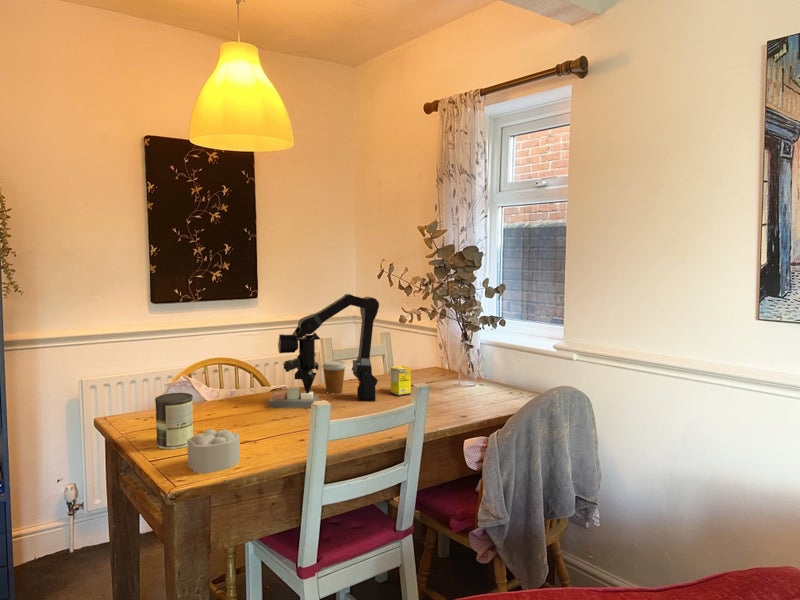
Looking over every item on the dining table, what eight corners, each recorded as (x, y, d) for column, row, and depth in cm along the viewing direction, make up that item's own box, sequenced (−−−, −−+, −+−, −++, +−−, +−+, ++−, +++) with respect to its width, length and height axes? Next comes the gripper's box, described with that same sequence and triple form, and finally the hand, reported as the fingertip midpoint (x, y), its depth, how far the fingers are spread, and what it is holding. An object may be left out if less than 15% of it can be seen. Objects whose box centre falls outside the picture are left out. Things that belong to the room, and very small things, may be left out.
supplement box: (411, 394, 227) (411, 367, 226) (398, 396, 223) (398, 369, 222) (402, 391, 232) (402, 365, 231) (390, 393, 228) (390, 366, 227)
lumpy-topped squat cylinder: (185, 463, 152) (184, 432, 151) (232, 453, 160) (232, 423, 159) (196, 476, 143) (196, 442, 143) (246, 465, 151) (245, 433, 150)
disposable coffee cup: (348, 393, 228) (348, 364, 227) (325, 395, 224) (325, 365, 223) (342, 388, 237) (342, 360, 236) (320, 390, 233) (319, 361, 232)
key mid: (300, 397, 213) (299, 387, 213) (298, 400, 209) (298, 390, 209) (289, 397, 213) (289, 387, 213) (287, 400, 209) (287, 389, 209)
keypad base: (317, 400, 216) (317, 394, 216) (313, 408, 206) (313, 401, 206) (274, 400, 216) (274, 394, 216) (268, 407, 206) (268, 401, 206)
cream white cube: (313, 402, 213) (313, 391, 213) (311, 405, 209) (311, 394, 209) (302, 402, 213) (302, 391, 213) (300, 404, 209) (300, 394, 209)
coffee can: (149, 448, 163) (147, 400, 162) (167, 437, 173) (166, 392, 172) (183, 450, 162) (182, 402, 161) (199, 438, 172) (198, 393, 171)
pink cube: (286, 402, 213) (286, 391, 213) (284, 404, 209) (284, 394, 209) (276, 401, 213) (276, 391, 213) (273, 404, 209) (273, 394, 209)
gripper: (289, 347, 219) (290, 387, 220) (280, 356, 200) (280, 399, 202) (318, 347, 219) (319, 387, 220) (311, 356, 200) (311, 399, 202)
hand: (307, 393), depth 211 cm, fingers closed, pressing on cream white cube
